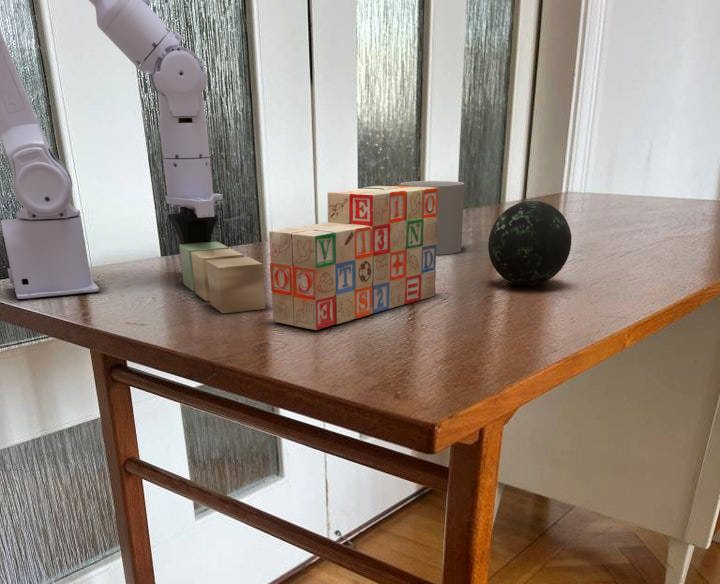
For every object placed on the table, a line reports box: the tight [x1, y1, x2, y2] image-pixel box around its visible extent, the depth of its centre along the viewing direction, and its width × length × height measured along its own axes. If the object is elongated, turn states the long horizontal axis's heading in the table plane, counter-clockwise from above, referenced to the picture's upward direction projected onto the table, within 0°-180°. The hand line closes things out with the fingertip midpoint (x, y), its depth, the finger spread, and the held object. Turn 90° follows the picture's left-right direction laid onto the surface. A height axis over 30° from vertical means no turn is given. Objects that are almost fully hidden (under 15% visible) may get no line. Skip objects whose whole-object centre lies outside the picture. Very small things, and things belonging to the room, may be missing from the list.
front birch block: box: [206, 256, 266, 315], centre depth 85 cm, size 5×5×5 cm
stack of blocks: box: [268, 185, 438, 331], centre depth 82 cm, size 21×6×12 cm, turn 141°
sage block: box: [178, 241, 229, 292], centre depth 96 cm, size 5×5×5 cm
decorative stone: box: [487, 200, 572, 287], centre depth 93 cm, size 10×10×10 cm
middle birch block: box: [191, 248, 245, 302], centre depth 90 cm, size 5×5×5 cm
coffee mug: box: [399, 180, 465, 256], centre depth 120 cm, size 13×10×10 cm
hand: (197, 269), depth 100 cm, fingers closed
